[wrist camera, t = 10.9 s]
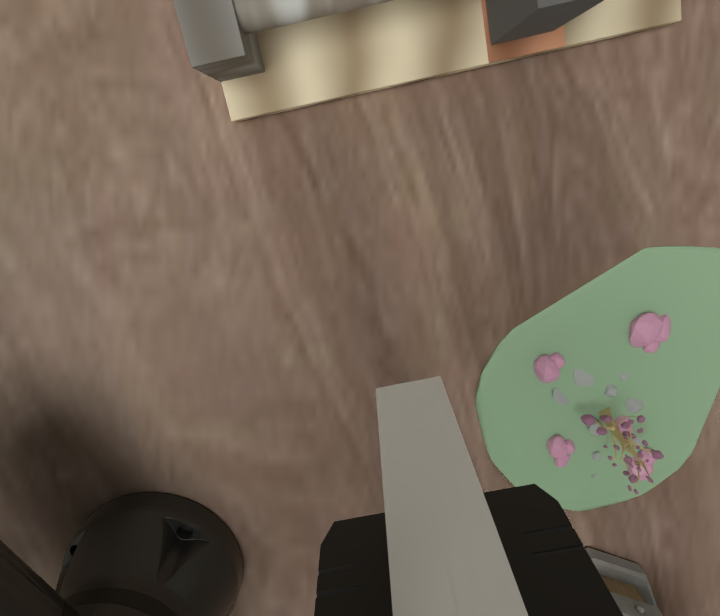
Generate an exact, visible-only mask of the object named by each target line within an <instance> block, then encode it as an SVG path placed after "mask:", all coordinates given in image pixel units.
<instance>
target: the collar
mask: <svg viewBox="0 0 720 616" xmlns="http://www.w3.org/2000/svg"><path fill="white" fill-rule="evenodd" d="M602 1H604V0H486V8H487V16H488V24H489V32H490V40H491V45H494V44H498V43H503V42H507V41H512V40H516V39H521V38H525V37H529V36H534V35H538V34H543V33H547V32H551V31H554V30H556V29H558V28H559V27H561V26H563V25H564V24H566V23H567V22H569V21H571V20H572V19H574V18H576V17H577V16H579V15H581V14H582V13H584V12H586V11H587V10H589V9H591V8H592V7H594V6H596V5H597V4H599V3H601V2H602Z"/></svg>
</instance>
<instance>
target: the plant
mask: <svg viewBox="0 0 720 616" xmlns="http://www.w3.org/2000/svg"><path fill="white" fill-rule="evenodd" d="M719 388H720V248H710V247H694V246H662V247H650V248H644V249H643V250H641V251H639V252H638V253H636V254H634V255H633V256H631V257H629V258H628V259H626V260H624V261H623V262H621V263H620V264H618V265H616V266H615V267H613V268H611V269H610V270H608V271H607V272H605V273H603V274H602V275H600V276H598V277H597V278H595V279H593V280H592V281H590V282H589V283H587V284H585V285H584V286H582V287H580V288H579V289H577V290H576V291H574V292H572V293H571V294H569V295H567V296H566V297H564V298H562V299H561V300H559V301H558V302H556V303H554V304H553V305H551V306H549V307H548V308H546V309H545V310H543V311H541V312H540V313H538V314H536V315H535V316H533V317H531V318H530V319H528V320H527V321H525V322H523V323H522V324H520V325H518V326H517V327H515V328H514V329H513V330H511V331H510V332H509V334H508V335H507V336H506V337H505V338H504V339H503V340H502V341H501V342H500V344H499V345H498V346H497V348H496V349H495V351H494V352H493V354H492V355H491V357H490V358H489V360H488V362H487V363H486V365H485V367H484V368H483V370H482V372H481V375H480V380H479V385H478V389H477V394H476V409H477V413H478V417H479V421H480V425H481V430H482V434H483V438H484V442H485V445H486V449H487V452H488V454H489V456H490V458H491V460H492V462H493V463H494V464H495V465H496V467H497V468H498V469H499V470H500V471H501V472H502V473H503V474H504V476H505V477H506V478H507V479H508V480H509V481H510V482H511V483H512V484H513V485H514V486H515V487H518V486H524V485H530V484H536V485H537V486H539V487H540V488H541V489H543V490H544V491H545V492H547V493H548V494H549V495H551V496H552V497H553V498H555V499H556V500H557V501H558V502H559V504H560V505H561V507H562V508H563V509H568V510H572V511H584V510H589V509H594V508H598V507H602V506H606V505H610V504H615V503H619V502H623V501H626V500H629V499H632V498H635V497H637V496H640V495H642V494H644V493H646V492H647V491H649V490H651V489H652V488H654V487H655V486H656V485H658V484H659V483H660V482H662V481H663V480H664V479H666V478H667V477H668V476H670V475H671V474H672V473H674V472H675V471H676V470H678V469H679V468H680V467H681V466H682V464H683V463H684V462H685V461H686V460H687V458H688V457H689V456H690V455H691V454H692V452H693V449H694V447H695V445H696V442H697V440H698V437H699V435H700V433H701V430H702V428H703V426H704V423H705V421H706V418H707V416H708V414H709V411H710V409H711V407H712V404H713V402H714V400H715V397H716V395H717V392H718V390H719Z"/></svg>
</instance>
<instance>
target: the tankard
mask: <svg viewBox="0 0 720 616" xmlns="http://www.w3.org/2000/svg"><path fill="white" fill-rule="evenodd" d="M584 549H586V551H587V553H588V554H589V556H590V558H591V560H592V561H593V563H594V565H595V567H596V568H597V570H598V572H599V574H600V575H601V577H602V579H603V581H604V582H605V584H606V586H607V588H608V589H609V591H610V593H611V595H612V597H613V598H614V600H615V602H616V604H617V605H618V607H619V609H620V611H621V612H622V614H623V616H663V615H662V613H661V612H660V610H659V609H658V607H657V604H656V602H655V599H654V596H653V593H652V590H651V587H650V584H649V581H648V578H647V576H646V574H645V572H644V571H643V570H642V568H641V567H640V565H639V564H637V563H634V562H631V561H628V560H625V559H622V558H619V557H616V556H613V555H610V554H607V553H604V552H601V551H598V550H595V549H592V548H589V547H587V548H584Z"/></svg>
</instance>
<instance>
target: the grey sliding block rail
mask: <svg viewBox="0 0 720 616" xmlns="http://www.w3.org/2000/svg"><path fill="white" fill-rule="evenodd" d="M173 2H174V5H175V9H176V12H177V16H178V20H179V23H180V27H181V30H182V34H183V38H184V41H185V45H186V49H187V52H188V56H189V59H190V63H191V67H192V68H194V69H196V70H198V71H200V72H202V73H204V74H206V75H208V76H210V77H212V78H214V79H216V80H218V81H220V82H221V83H222V87H223V90H224V94H225V98H226V102H227V106H228V109H229V113H230V117H231V121H233V122H240V121H244V120H248V119H253V118H257V117H262V116H266V115H271V114H275V113H280V112H284V111H289V110H293V109H298V108H302V107H306V106H311V105H315V104H320V103H324V102H329V101H333V100H338V99H342V98H347V97H351V96H355V95H360V94H364V93H369V92H373V91H378V90H382V89H387V88H391V87H396V86H400V85H405V84H409V83H413V82H418V81H422V80H427V79H431V78H436V77H440V76H445V75H449V74H454V73H458V72H463V71H467V70H471V69H476V68H480V67H485V66H489V65H494V64H498V63H503V62H507V61H512V60H516V59H521V58H525V57H529V56H534V55H538V54H543V53H547V52H552V51H556V50H561V49H565V48H570V47H574V46H578V45H583V44H587V43H592V42H596V41H601V40H605V39H610V38H614V37H619V36H623V35H628V34H632V33H636V32H641V31H645V30H650V29H654V28H659V27H663V26H668V25H670V24H673V23H675V22H678V21H680V20H681V0H604V1H602V2H601V3H599V4H597V5H596V6H594V7H592V8H591V9H589V10H587V11H586V12H584V13H582V14H581V15H579V16H577V17H576V18H574V19H572V20H571V21H569V22H567V23H566V24H564V25H563V26H561V27H559V28H558V29H556V30H554V31H551V32H547V33H543V34H538V35H534V36H529V37H525V38H521V39H516V40H512V41H507V42H503V43H498V44H494V45H491V40H490V32H489V24H488V16H487V8H486V0H173Z"/></svg>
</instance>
